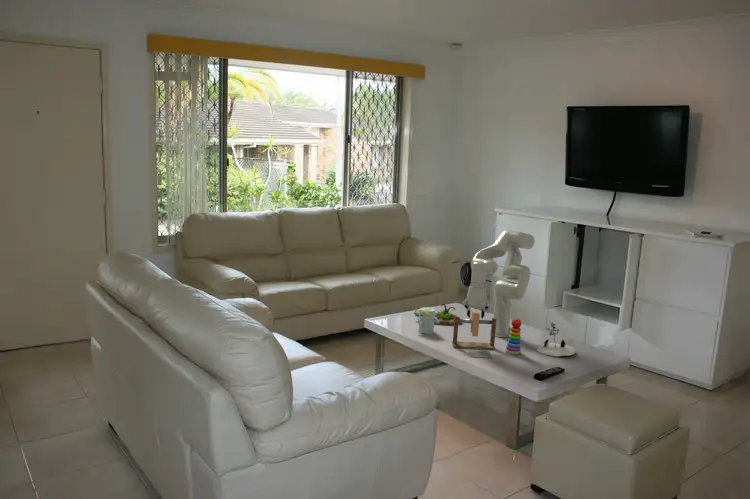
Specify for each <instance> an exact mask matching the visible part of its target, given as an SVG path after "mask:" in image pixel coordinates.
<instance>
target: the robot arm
mask: <svg viewBox="0 0 750 499" xmlns="http://www.w3.org/2000/svg"><path fill="white" fill-rule="evenodd" d="M534 245H535V237H534V235H532V234H531V233H526V232H523V231H516V230H510V229H509V230H508V229H507V230H506V229H505V230H503V231H502V232H501V233H500V234H499V235H498V237H497V238H496V240H495V241H494V242H493V243H492V245H490V246H487V247H485V248H483V249H481V250H479V251H478V252H477V253H476V254H475V255H474V257H473V258H472V259H471V263H470V268H471V275H470V276H471V278H470V279H471V280H470V285H469V287H468V290H467V296H466V298H465V299H463V301H462V302H461V304H462V306H463V307H464V308H465V309H466V316H467V317H468V318H467V319H471V308H472V307H481V312H480V318H481V320H484V317H485V313H486V311H487V310H488V309H489V308H490V307H492V303H491V302H490V301H489V300H488V297H487V286H489V283H488V282H486V280H487V279H486V278H487V275H494V274H495V273H497V271H498V267H499V266H498V263H497V262H496V261H494V260H491V259H498V258H502V257H504V256H505V255H507V256H506V259H505V262H504V264H503V267H502V272H501V276H502V277H503V278H504V279H505V280H504V279H503V280H502V279H501V280H497V281H495V283H494V285H493V286H494V287H493V291H494V306H493V307H494V308H493V317H492V318H496V330H495V338H496V337H497V338H509V335H510V331H511V327H510V325H511V316H512V315H511V314H512V303H511V300H516V301H521V300H523V298H524V297H525V296H526V295H525V294H526V291H527V288H528V284H529V282H530V279H531V270H530V269H531V268H530V267H529V266H527V265H525V264H521V263H522V260H523V255H522V252H521V250H520V249H525V250H531V249H532V248H534ZM509 280H510V281H509ZM514 281H515V282H514ZM510 299H511V300H510ZM466 303H467V304H466ZM489 335H491V329H490V330H489Z"/></svg>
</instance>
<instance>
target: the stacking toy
mask: <svg viewBox="0 0 750 499" xmlns="http://www.w3.org/2000/svg"><path fill="white" fill-rule="evenodd" d="M521 326H522V320H521V319H520V318H513V319H512V320H511V327H510V328H511V331H510V335H509V337H507V343H506V346H505V347H506V348H505V353H506V354H508V355H511V356H518V355H521V353H522V351H521V349H522V347H521V346H522V344H521V342H522V340H521Z"/></svg>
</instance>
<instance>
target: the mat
mask: <svg viewBox="0 0 750 499" xmlns="http://www.w3.org/2000/svg"><path fill="white" fill-rule="evenodd" d="M467 351H468V353H469V356H470V358H478V359H480V358H481V359H493V355H492V354H491V350H483V349H467Z"/></svg>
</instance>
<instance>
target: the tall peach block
mask: <svg viewBox="0 0 750 499" xmlns="http://www.w3.org/2000/svg"><path fill="white" fill-rule="evenodd" d="M480 318H481V313H480V312H479V310H475V309H472V310H471V317H470V319H472V320H473V323H470V333H471V336H472V337H479V328H480V324H479V320H480Z"/></svg>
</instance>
